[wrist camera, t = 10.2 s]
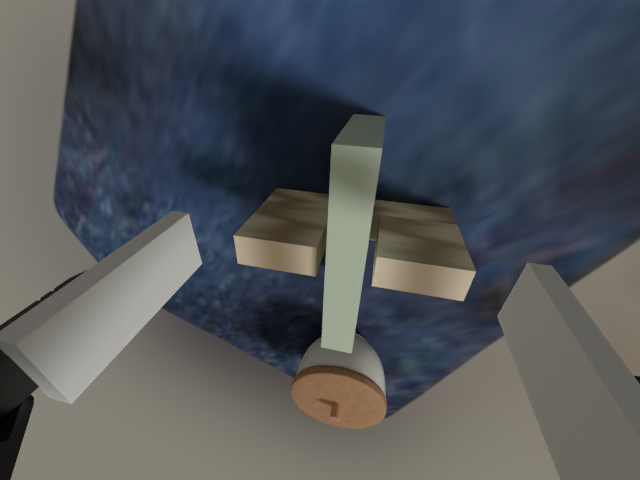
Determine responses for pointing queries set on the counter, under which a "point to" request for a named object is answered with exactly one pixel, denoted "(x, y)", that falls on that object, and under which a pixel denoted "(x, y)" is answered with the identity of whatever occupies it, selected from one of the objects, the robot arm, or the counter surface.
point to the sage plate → (349, 225)
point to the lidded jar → (341, 385)
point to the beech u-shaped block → (386, 228)
